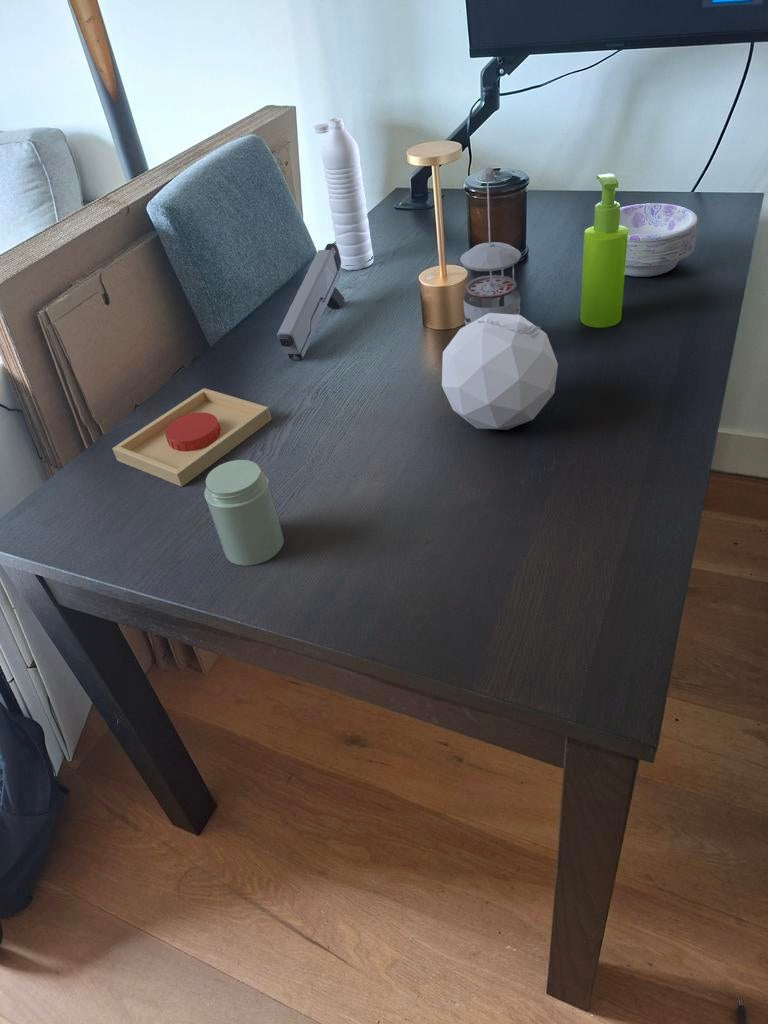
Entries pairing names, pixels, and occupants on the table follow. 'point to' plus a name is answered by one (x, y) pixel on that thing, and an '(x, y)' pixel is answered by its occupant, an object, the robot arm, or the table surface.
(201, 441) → the jar lid
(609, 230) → the soap dispenser
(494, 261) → the french press
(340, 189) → the water bottle
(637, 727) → the table surface
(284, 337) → the gun
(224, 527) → the jam jar
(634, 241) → the paper bowls
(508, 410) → the geodesic sphere
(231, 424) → the tray
